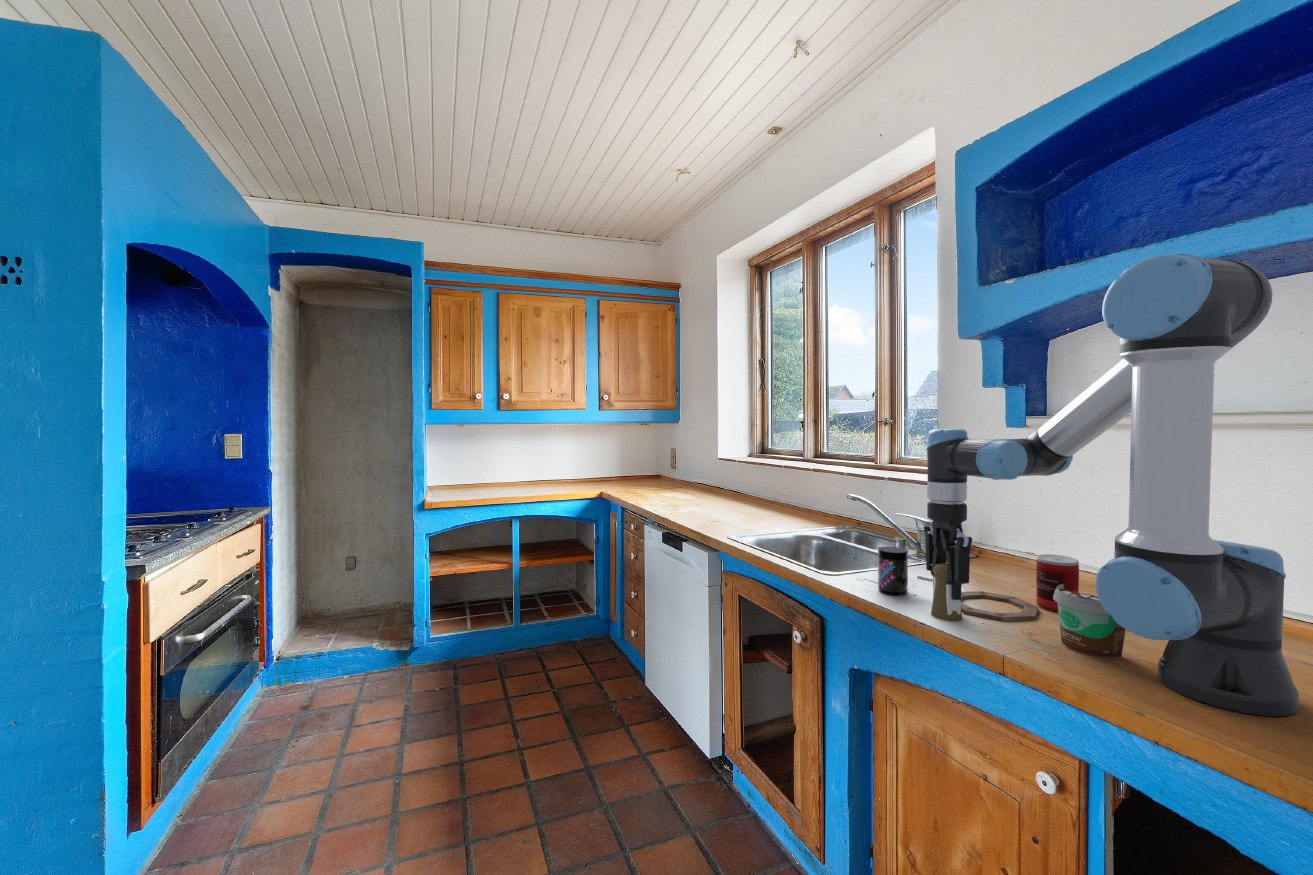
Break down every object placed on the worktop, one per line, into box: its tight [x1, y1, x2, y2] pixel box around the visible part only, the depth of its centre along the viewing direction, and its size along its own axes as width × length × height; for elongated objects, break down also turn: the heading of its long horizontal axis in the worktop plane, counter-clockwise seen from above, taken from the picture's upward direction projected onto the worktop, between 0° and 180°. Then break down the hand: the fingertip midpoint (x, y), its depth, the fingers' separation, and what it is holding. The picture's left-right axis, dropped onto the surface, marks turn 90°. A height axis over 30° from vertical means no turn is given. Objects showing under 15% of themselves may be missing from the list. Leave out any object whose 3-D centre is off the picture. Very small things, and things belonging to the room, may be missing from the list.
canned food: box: [1035, 553, 1080, 613], centre depth 124 cm, size 8×8×11 cm
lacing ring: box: [961, 590, 1040, 622], centre depth 125 cm, size 17×17×1 cm
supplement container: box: [877, 545, 909, 596], centre depth 136 cm, size 7×7×10 cm
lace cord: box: [916, 574, 967, 592], centre depth 141 cm, size 15×4×1 cm, turn 5°
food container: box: [1053, 584, 1126, 658], centre depth 102 cm, size 12×6×10 cm, turn 19°
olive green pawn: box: [930, 562, 963, 621], centre depth 119 cm, size 6×6×11 cm
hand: (946, 609), depth 120 cm, fingers closed on olive green pawn, 4 cm apart
